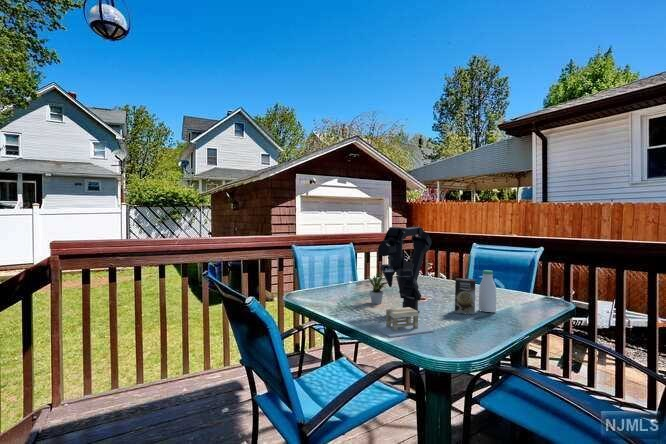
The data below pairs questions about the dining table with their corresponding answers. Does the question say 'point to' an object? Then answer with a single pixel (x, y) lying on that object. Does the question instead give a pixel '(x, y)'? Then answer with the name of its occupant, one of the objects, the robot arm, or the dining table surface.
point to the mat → (401, 329)
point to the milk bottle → (487, 292)
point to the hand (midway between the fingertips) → (395, 288)
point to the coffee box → (465, 296)
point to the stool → (400, 313)
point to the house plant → (376, 290)
